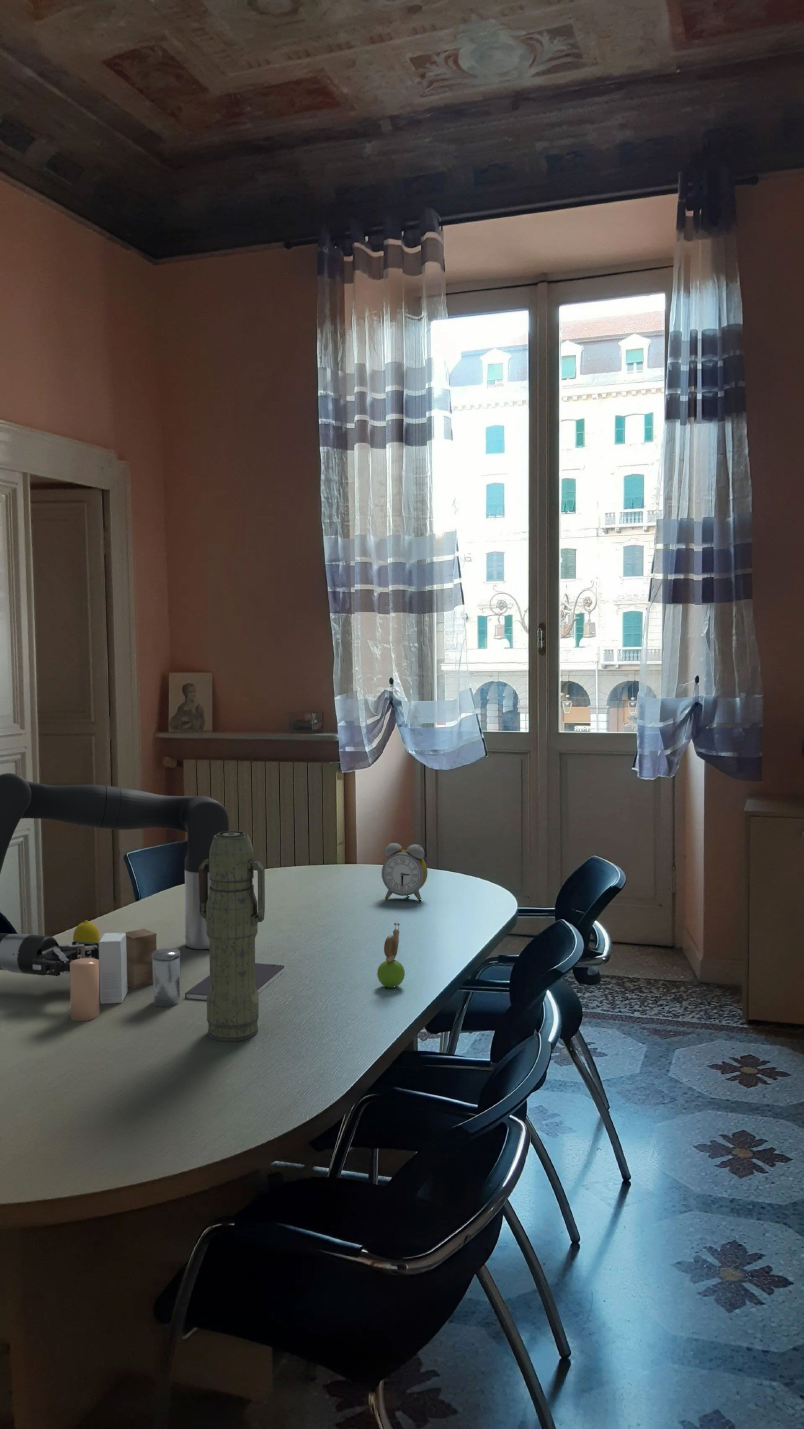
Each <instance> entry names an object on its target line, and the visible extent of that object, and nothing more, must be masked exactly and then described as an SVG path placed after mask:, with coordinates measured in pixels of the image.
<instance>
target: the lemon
mask: <svg viewBox="0 0 804 1429" xmlns="http://www.w3.org/2000/svg"><path fill="white" fill-rule="evenodd" d="M72 938H73V939H72V942H74V941H80V942H94V943H99V941H100V940H101V935H100V931H99V928H98V927H97V925H96V924H94V923H93V922H91V921H89V920H84V921H82V922H81V923H79V924H78V925H77V926H76V928H75V929H74V932H73V937H72ZM90 952H91V950H90Z"/></svg>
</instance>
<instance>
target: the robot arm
mask: <svg viewBox="0 0 804 1429" xmlns="http://www.w3.org/2000/svg"><path fill="white" fill-rule="evenodd" d="M21 819H40V820H52V821H58V822H62V823H63V822H64V823H67V824H71V825H72V824H73V825H77V826H83V827H89V828H96V829H106V830H116V831H121V830H124V831H125V830H126V831H128V830H142V829H151V828H159V829H168V830H173V831H179V832H183V833H187V851H186V856H185V857H184V913H185V915H184V917H185V918H184V920H185V922H184V923H185V931H184V932H185V935H184V936H185V946H186V947H188V948H189V949H195V950H209V938H208V936H207V933H206V921H205V919H204V918H203V917H202V916H201V915H200V897H199V874H198V868H199V866H200V865H201V863H202V862H203V861H204V860H207V859H209V851H210V847H211V844H212V840H213V837H214V836H215V835H217V834H218V833H220V832H225V831H230V823H229V822H230V819H229V814H228V811H227V809H226V807H225V806H224V805H223V804H222V803H221V802H219V801H217V800H215V799H214V798H212V797H209V796H205V795H191V796H190V795H184V796H182V795H181V796H180V795H163V794H159V793H158V794H156V793H152V792H149V791H145V790H144V791H143V790H138V789H134V788H133V789H132V788H126V787H122V786H121V787H120V786H111V785H102V784H72V785H70V784H69V785H68V784H67V785H54V784H53V785H52V784H46V783H44V784H43V783H39V782H35V781H29V780H26V779H25V778H24V777H23V776H21V775H19V774H16V773H12V772H7V773H1V774H0V874H1V872H2V870H3V866H4V863H5V859H6V855H7V852H8V849H9V846H10V843H11V841H12V838H13V835H14V833H15V831H16V828H17V827H18V824H19V822H20V821H21ZM210 886H211V880H210V876H209V866H208V897H209V894H210ZM90 950H91V952H90ZM78 956H80V957H78ZM82 958H94V959H97V960H98V961H99V943H94V942H80V941H74V942H73V941H71V944H67V943H65V944H59V943H58V942H57V940H56V939H55V938H54V937H53V936H50V935H40V934H39V935H38V934H27V933H3V932H0V971H7V972H11V973H16V974H25V975H33V976H34V975H35V976H41V977H42V976H44V977H45V976H54V977H59V976H61V973H62V974H70V962H71V961H73V960H76V959H82Z"/></svg>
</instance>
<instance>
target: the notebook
mask: <svg viewBox="0 0 804 1429" xmlns="http://www.w3.org/2000/svg"><path fill="white" fill-rule="evenodd" d="M284 969H285V965H282V964H273V963H271V964H269V963H259V962H255V985H256V988H257V991H258V994H260V993H261V992H262V991H263V990H264V989H265V988H267V987H268V986H269V985H270V984H271V983H273V981H275V980H276V979H277V978H278V977H279V976H280V975H281V974H283V973H284V971H285V970H284ZM209 990H210V974H209V975H207V977H205V978H204V979H203V980H201V981H200V982H198V983H197V984H196V985H194V986H193V987H192V988H190V989H189V990H188V991H186V992H184V998H185V999H192V1000H195V999H196V1000H204V1001H207V996H208V993H209Z"/></svg>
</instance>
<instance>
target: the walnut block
mask: <svg viewBox="0 0 804 1429" xmlns="http://www.w3.org/2000/svg"><path fill="white" fill-rule="evenodd" d="M123 933H126V955H127V986H128V987H131V988H132V989H137V988H141V987H142V988H143V987H145V986H149V985H153V962H152V952H153V951H156V950H158V949H157V933H155V932H153V931H151V930H149V929H147V928H141V929H140V928H139V929H134V930H131V931H126V932H123Z"/></svg>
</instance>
